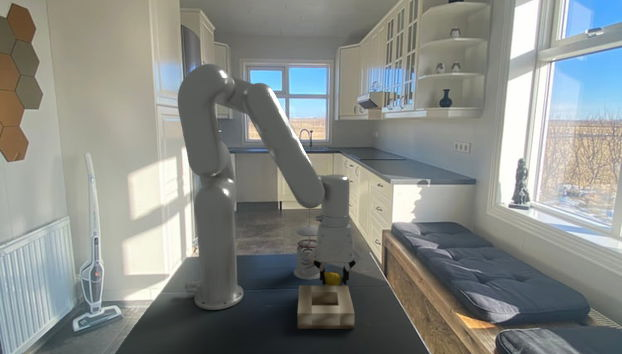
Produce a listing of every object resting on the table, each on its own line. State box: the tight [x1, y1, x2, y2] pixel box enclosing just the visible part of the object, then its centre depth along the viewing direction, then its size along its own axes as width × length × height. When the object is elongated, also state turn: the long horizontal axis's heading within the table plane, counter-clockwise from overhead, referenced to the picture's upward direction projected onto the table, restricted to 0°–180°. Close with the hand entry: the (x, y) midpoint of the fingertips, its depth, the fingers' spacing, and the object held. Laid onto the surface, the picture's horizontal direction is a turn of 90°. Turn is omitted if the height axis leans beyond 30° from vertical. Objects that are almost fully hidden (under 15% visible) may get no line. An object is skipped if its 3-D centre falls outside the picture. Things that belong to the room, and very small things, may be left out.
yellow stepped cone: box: [324, 271, 344, 286], centre depth 93 cm, size 5×5×10 cm
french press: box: [293, 208, 320, 280], centre depth 103 cm, size 10×12×25 cm
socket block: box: [297, 285, 356, 330], centre depth 82 cm, size 13×13×4 cm
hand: (334, 281), depth 93 cm, fingers closed on yellow stepped cone, 5 cm apart
